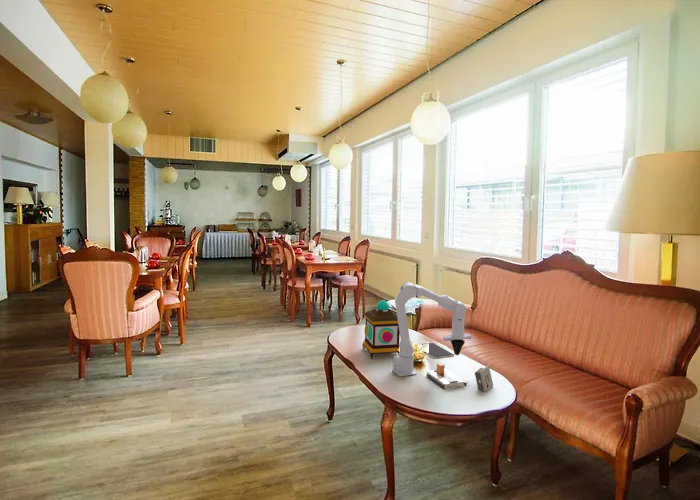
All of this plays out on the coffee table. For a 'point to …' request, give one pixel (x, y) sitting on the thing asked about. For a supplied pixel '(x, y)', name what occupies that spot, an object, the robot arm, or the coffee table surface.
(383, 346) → the decorative lantern
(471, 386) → the coffee table surface
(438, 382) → the cord left
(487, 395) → the coffee table surface
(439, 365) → the block
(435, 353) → the notebook
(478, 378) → the electrical switch
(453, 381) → the breaker panel
